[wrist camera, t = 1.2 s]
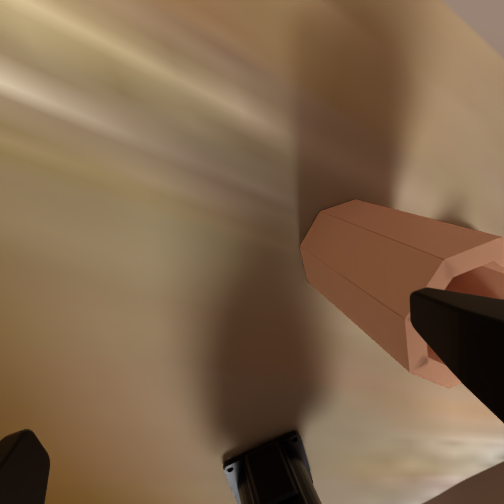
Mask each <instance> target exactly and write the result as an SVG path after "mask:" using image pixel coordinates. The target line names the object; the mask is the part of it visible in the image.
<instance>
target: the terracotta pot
mask: <svg viewBox="0 0 504 504" xmlns="http://www.w3.org/2000/svg"><path fill="white" fill-rule="evenodd" d="M300 251H301V255H302V260H303V265H304V269H305V274H306V278H307V281H308V282H309V283H310V284H311V285H312V286H314V287H315V288H316V289H317V290H318V291H319V292H320V293H321V294H323V295H324V296H325V297H326V298H327V299H328V300H329V301H330V302H331V303H333V304H334V305H335V306H336V307H337V308H338V309H339V310H340V311H342V312H343V313H344V314H345V315H346V316H347V317H348V318H349V319H351V320H352V321H353V322H354V323H355V324H356V325H357V326H358V327H359V328H361V329H362V330H363V331H364V332H365V333H366V334H367V335H368V336H370V337H371V338H372V339H373V340H374V341H375V342H376V343H377V344H379V345H380V346H381V347H382V348H383V349H384V350H385V351H386V352H387V353H389V354H390V355H391V356H392V357H393V358H394V359H395V360H396V361H398V362H399V363H400V364H401V365H402V366H403V367H404V368H405V369H407V370H408V371H409V372H410V373H412V374H414V375H417V376H419V377H422V378H424V379H427V380H429V381H432V382H434V383H436V384H439V385H441V386H444V387H446V388H451V387H453V386H455V385H458V384H460V383H462V382H461V381H460V380H459V379H458V378H457V377H456V376H455V375H454V374H453V373H452V372H451V371H450V370H449V368H448V367H447V366H446V365H445V364H444V363H443V362H442V360H441V359H440V358H439V357H438V356H437V355H436V353H435V352H434V351H433V350H432V349H431V348H430V347H429V345H428V344H427V343H426V342H425V341H424V340H423V338H422V337H421V336H420V335H419V334H418V333H417V332H416V330H415V329H414V328H413V326H412V324H411V320H410V299H409V298H410V294H411V293H412V292H413V291H416V290H419V289H422V288H425V287H429V288H436V289H442V290H448V291H454V292H460V293H466V294H472V295H479V296H485V297H491V298H497V299H503V300H504V238H503V237H500V236H496V235H492V234H488V233H485V232H481V231H477V230H473V229H469V228H465V227H461V226H457V225H453V224H450V223H446V222H442V221H438V220H434V219H430V218H426V217H422V216H418V215H415V214H411V213H407V212H403V211H399V210H395V209H391V208H387V207H383V206H380V205H376V204H372V203H368V202H364V201H360V200H356V199H355V200H352V201H349V202H346V203H343V204H340V205H337V206H334V207H331V208H328V209H325V210H322V211H320V212H319V214H318V215H317V217H316V219H315V221H314V222H313V224H312V226H311V227H310V229H309V231H308V233H307V234H306V236H305V238H304V239H303V241H302V243H301V245H300Z"/></svg>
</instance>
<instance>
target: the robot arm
mask: <svg viewBox="0 0 504 504" xmlns="http://www.w3.org/2000/svg"><path fill="white" fill-rule="evenodd" d="M409 299H410V320H411V324H412V326H413V328H414V329H415V330H416V332H417V333H418V334H419V335H420V336H421V337H422V338H423V340H424V341H425V342H426V343H427V344H428V345H429V347H430V348H431V349H432V350H433V351H434V352H435V353H436V355H437V356H438V357H439V358H440V359H441V360H442V362H443V363H444V364H445V365H446V366H447V367H448V368H449V370H450V371H451V372H452V373H453V374H454V375H455V376H456V377H457V378H458V379H459V380H460V381H461V382H462V383H463V384H464V385H465V386H466V387H467V388H468V389H469V390H470V391H471V392H472V393H473V394H474V395H475V396H476V397H477V398H478V399H479V400H480V401H481V402H482V403H483V404H484V405H485V406H486V407H487V408H489V409H490V410H491V411H492V412H493V413H494V414H495V415H496V416H497V417H498V418H499V419H500V420H501V421H502V422H503V423H504V300H503V299H497V298H491V297H485V296H479V295H472V294H466V293H460V292H454V291H448V290H442V289H436V288H429V287H425V288H422V289H419V290H416V291H413V292H412V293H411V294H410V298H409ZM223 469H224V473H225V475H226V478H227V480H228V482H229V485H230V487H231V489H232V492H233V494H234V496H235V499H236V501H237V503H238V504H322V503H321V501H320V499H319V497H318V495H317V492H316V490H315V488H314V486H313V480H312V476H311V473H310V469H309V466H308V462H307V459H306V455H305V451H304V448H303V444H302V441H301V437H300V435H299V433H298V432H297V431H292V432H290V433H288V434H285V435H283V436H281V437H279V438H277V439H274V440H272V441H270V442H268V443H266V444H263V445H261V446H259V447H257V448H255V449H253V450H250V451H248V452H246V453H244V454H242V455H239V456H237V457H235V458H233V459H231V460H228V461H227V462H225V463H224V465H223ZM49 470H50V459H49V455H48V453H47V452H46V450H45V449H44V447H43V446H42V444H41V443H40V441H39V440H38V438H37V437H36V435H35V434H34V432H33V431H32V430H30V429H24V430H21V431H18V432H15V433H13V434H10V435H7V436H6V437H4V438H3V439H2V440H1V441H0V504H45V497H46V490H47V484H48V477H49Z"/></svg>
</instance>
